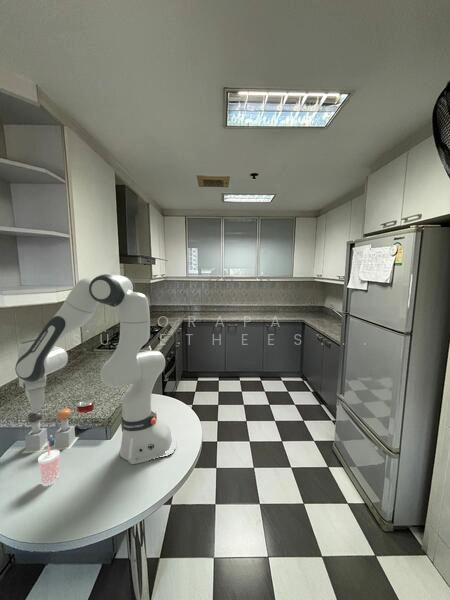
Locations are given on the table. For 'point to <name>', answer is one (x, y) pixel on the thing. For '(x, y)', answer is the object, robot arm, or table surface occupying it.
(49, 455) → the beverage cup
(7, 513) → the table surface
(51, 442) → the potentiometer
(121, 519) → the table surface
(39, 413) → the knob black
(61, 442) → the mount
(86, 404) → the soda can
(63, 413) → the knob orange
